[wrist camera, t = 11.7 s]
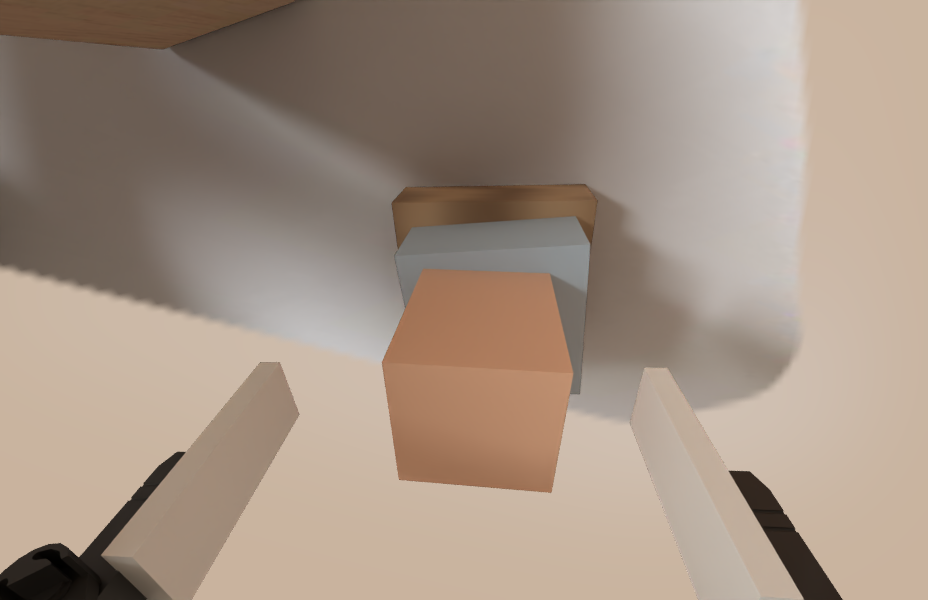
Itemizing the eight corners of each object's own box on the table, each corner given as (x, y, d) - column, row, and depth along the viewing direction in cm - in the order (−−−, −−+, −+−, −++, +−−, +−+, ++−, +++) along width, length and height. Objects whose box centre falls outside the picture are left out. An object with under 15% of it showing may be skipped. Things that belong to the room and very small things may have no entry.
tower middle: (434, 353, 26) (423, 395, 22) (412, 227, 21) (394, 255, 18) (569, 350, 25) (579, 394, 21) (575, 216, 20) (590, 244, 17)
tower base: (423, 327, 30) (412, 359, 26) (407, 185, 24) (391, 202, 21) (565, 330, 29) (574, 364, 25) (583, 182, 23) (597, 200, 20)
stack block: (429, 365, 21) (399, 479, 15) (422, 268, 18) (381, 362, 12) (537, 372, 21) (551, 492, 14) (549, 273, 18) (573, 373, 12)
